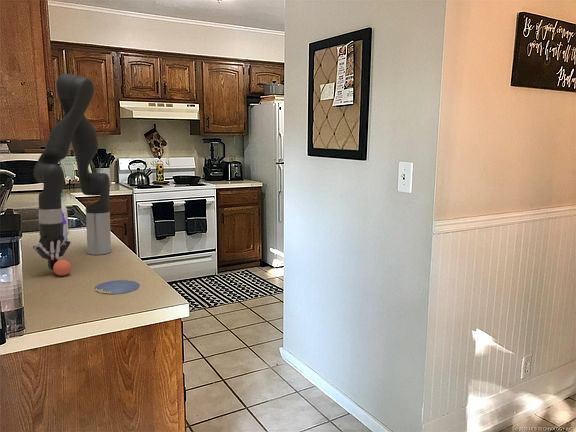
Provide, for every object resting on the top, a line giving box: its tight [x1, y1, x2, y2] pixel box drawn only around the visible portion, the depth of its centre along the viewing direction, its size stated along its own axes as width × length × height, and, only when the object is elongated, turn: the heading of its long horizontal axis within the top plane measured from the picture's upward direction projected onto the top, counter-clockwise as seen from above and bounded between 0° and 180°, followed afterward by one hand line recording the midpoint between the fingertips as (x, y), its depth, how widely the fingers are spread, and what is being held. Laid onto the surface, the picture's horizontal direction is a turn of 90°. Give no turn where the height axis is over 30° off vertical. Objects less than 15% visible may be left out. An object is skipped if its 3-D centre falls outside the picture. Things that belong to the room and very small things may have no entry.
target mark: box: [93, 279, 141, 295], centre depth 156 cm, size 14×14×1 cm
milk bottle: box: [61, 192, 69, 235], centre depth 229 cm, size 8×8×20 cm
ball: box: [52, 259, 72, 277], centre depth 167 cm, size 6×6×6 cm
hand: (53, 269), depth 168 cm, fingers closed
